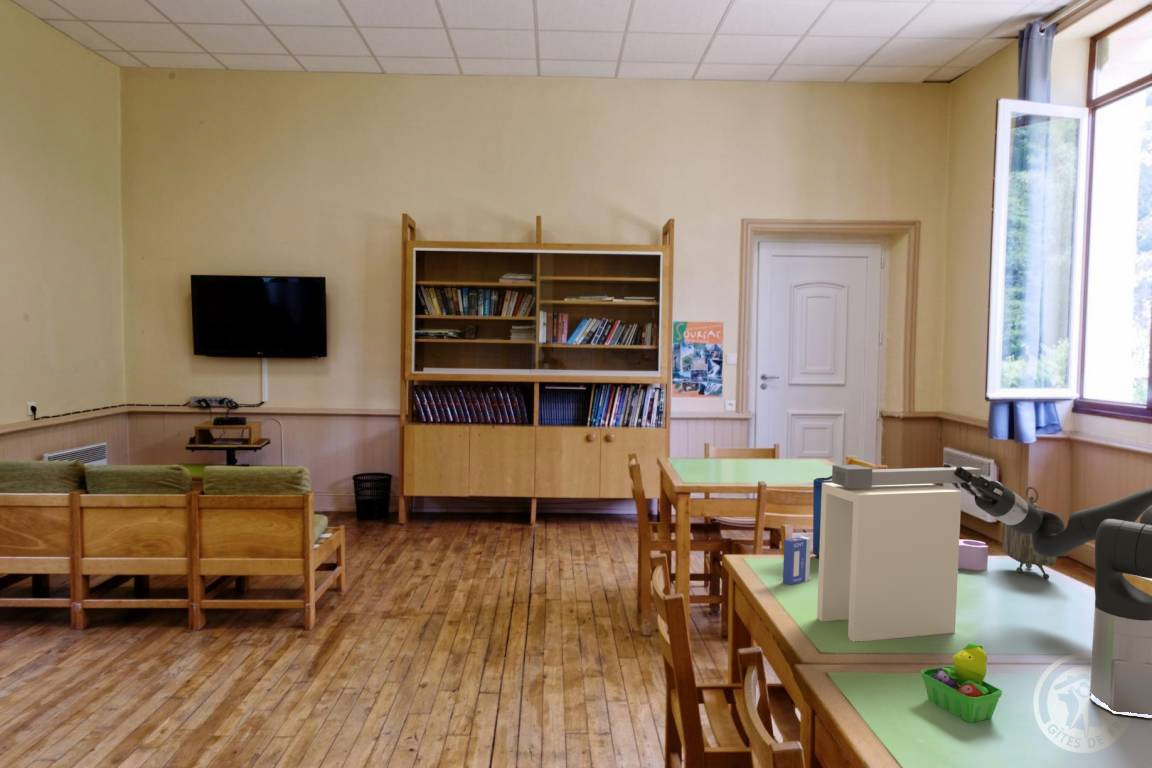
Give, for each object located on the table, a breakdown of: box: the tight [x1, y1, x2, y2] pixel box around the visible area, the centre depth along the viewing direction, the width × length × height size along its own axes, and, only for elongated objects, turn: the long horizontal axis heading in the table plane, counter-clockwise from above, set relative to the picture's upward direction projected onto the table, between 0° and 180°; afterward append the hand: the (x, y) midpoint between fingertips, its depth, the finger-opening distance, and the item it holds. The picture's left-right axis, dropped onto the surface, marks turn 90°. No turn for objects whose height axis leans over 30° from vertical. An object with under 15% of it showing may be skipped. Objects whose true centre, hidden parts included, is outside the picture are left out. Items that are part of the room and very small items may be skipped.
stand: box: [816, 483, 963, 643], centre depth 168 cm, size 26×14×32 cm, turn 104°
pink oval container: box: [958, 538, 989, 571], centre depth 220 cm, size 20×12×7 cm, turn 70°
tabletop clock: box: [1001, 486, 1058, 580], centre depth 211 cm, size 14×9×25 cm, turn 171°
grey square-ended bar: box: [831, 464, 982, 488], centre depth 168 cm, size 36×6×4 cm, turn 104°
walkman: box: [782, 535, 812, 586], centre depth 200 cm, size 8×3×12 cm, turn 123°
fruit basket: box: [920, 642, 1003, 724], centre depth 130 cm, size 11×9×11 cm
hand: (950, 468), depth 171 cm, fingers closed on grey square-ended bar, 3 cm apart
